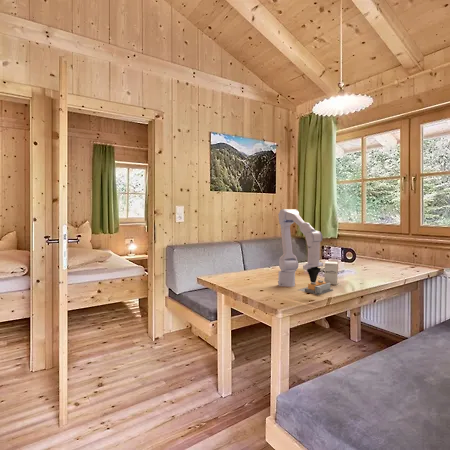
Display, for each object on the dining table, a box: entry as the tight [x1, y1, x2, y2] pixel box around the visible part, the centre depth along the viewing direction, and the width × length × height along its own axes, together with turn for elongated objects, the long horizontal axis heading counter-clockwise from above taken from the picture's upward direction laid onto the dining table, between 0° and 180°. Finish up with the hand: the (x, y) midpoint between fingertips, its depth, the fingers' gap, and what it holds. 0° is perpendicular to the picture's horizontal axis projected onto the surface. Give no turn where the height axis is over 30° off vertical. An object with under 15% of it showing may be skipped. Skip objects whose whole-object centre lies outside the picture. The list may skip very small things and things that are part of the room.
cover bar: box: [315, 283, 332, 295], centre depth 163 cm, size 13×3×4 cm, turn 130°
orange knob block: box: [315, 280, 326, 286], centre depth 168 cm, size 4×4×5 cm
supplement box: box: [323, 261, 339, 286], centre depth 186 cm, size 7×7×13 cm
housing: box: [298, 286, 334, 296], centre depth 167 cm, size 14×13×2 cm
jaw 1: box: [307, 281, 319, 293], centre depth 164 cm, size 4×4×5 cm
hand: (313, 282), depth 157 cm, fingers closed
